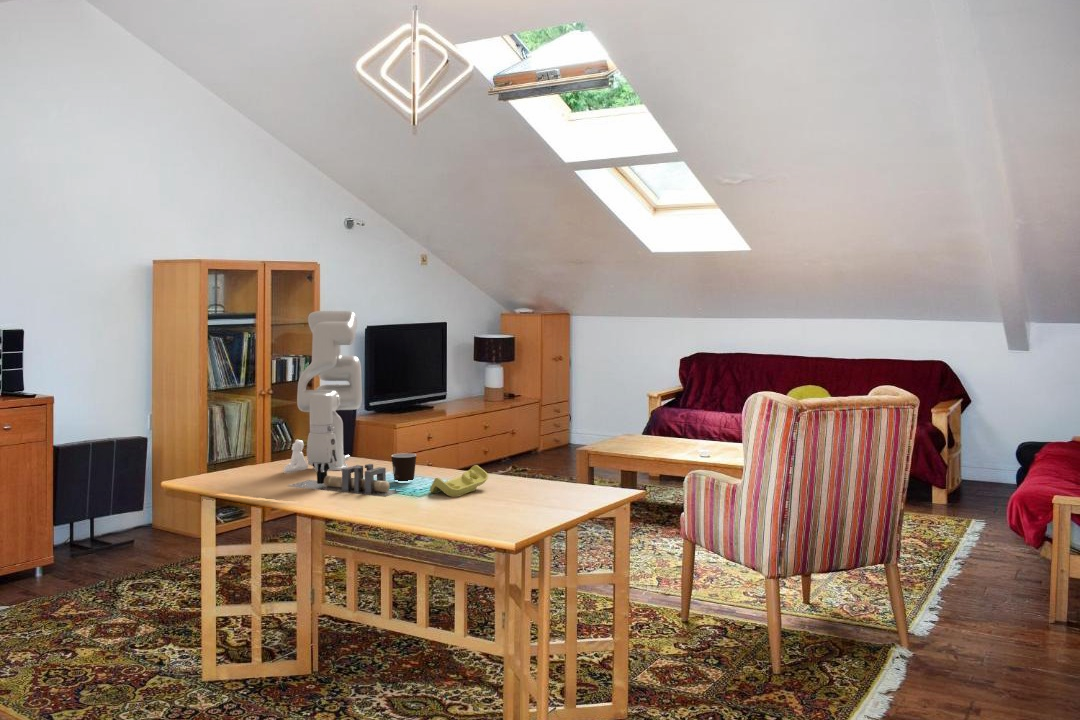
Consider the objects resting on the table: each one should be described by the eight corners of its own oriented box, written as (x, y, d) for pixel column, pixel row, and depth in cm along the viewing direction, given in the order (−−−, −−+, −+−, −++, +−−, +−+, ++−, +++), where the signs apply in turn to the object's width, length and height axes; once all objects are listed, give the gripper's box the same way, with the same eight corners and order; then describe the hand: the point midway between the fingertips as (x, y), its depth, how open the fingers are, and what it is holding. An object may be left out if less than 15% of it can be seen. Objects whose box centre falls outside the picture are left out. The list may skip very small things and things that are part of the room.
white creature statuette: (285, 469, 361) (284, 437, 360) (309, 468, 362) (308, 437, 362) (283, 473, 351) (282, 441, 351) (307, 473, 353) (307, 440, 352)
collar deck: (309, 482, 336) (308, 457, 335) (406, 492, 319) (405, 466, 318) (286, 488, 325) (285, 462, 324) (385, 499, 308) (385, 472, 307)
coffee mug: (414, 486, 328) (414, 457, 328) (389, 486, 329) (389, 457, 328) (419, 480, 340) (419, 452, 339) (395, 479, 340) (395, 451, 339)
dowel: (323, 487, 323) (323, 476, 323) (330, 485, 326) (330, 474, 326) (383, 493, 313) (383, 482, 313) (389, 491, 316) (389, 480, 316)
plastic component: (454, 491, 310) (433, 474, 314) (448, 510, 312) (427, 493, 317) (493, 477, 325) (473, 462, 330) (487, 495, 328) (467, 479, 333)
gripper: (346, 429, 325) (346, 483, 326) (310, 426, 331) (311, 479, 332) (332, 432, 318) (332, 487, 319) (296, 429, 324) (297, 483, 325)
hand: (322, 483), depth 326 cm, fingers closed
